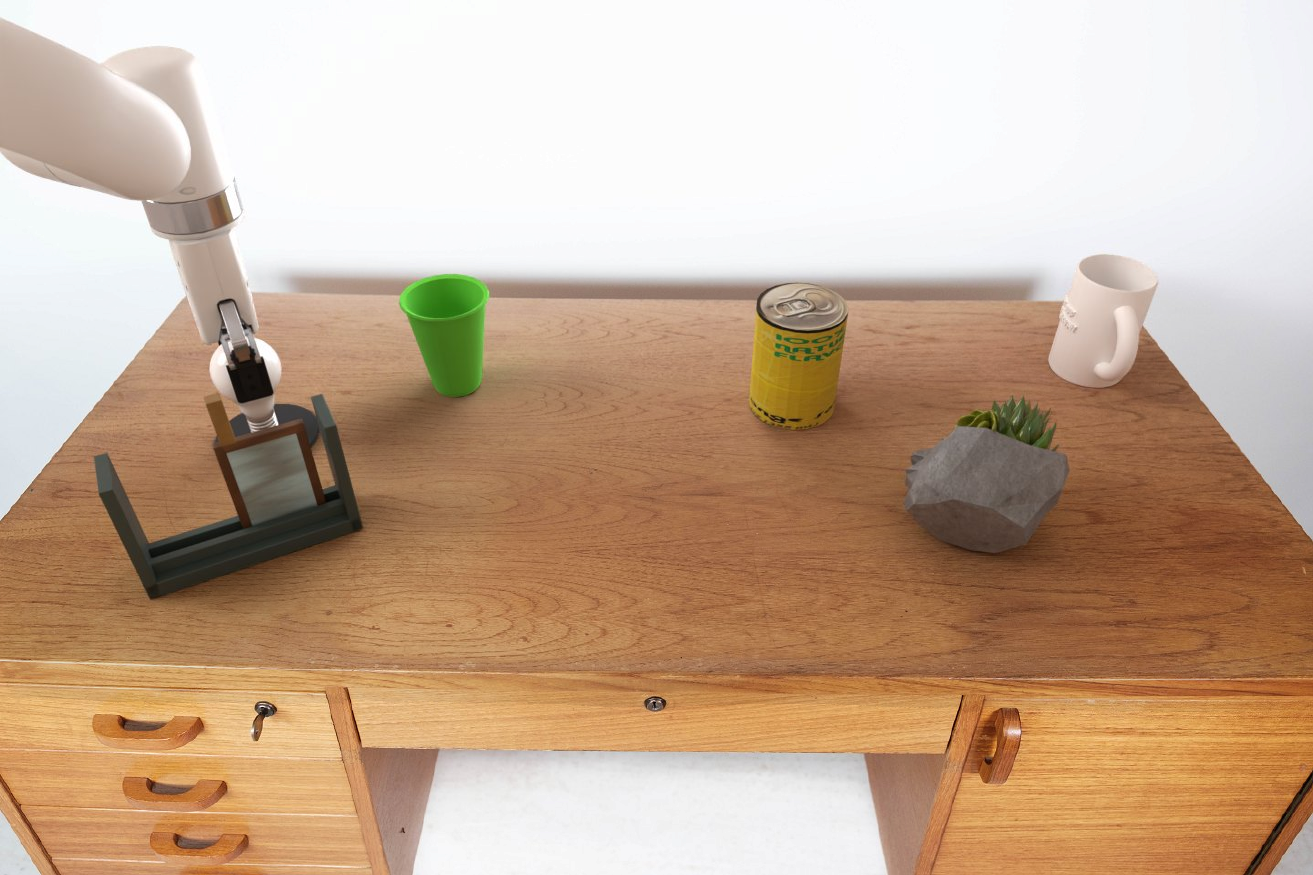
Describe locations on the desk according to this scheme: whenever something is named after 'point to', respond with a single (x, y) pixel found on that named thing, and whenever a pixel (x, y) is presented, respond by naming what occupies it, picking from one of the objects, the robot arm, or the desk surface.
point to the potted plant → (988, 479)
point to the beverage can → (797, 354)
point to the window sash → (265, 468)
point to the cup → (449, 329)
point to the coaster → (281, 421)
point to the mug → (1102, 320)
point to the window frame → (231, 526)
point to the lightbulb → (258, 410)
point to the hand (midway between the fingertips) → (246, 371)
